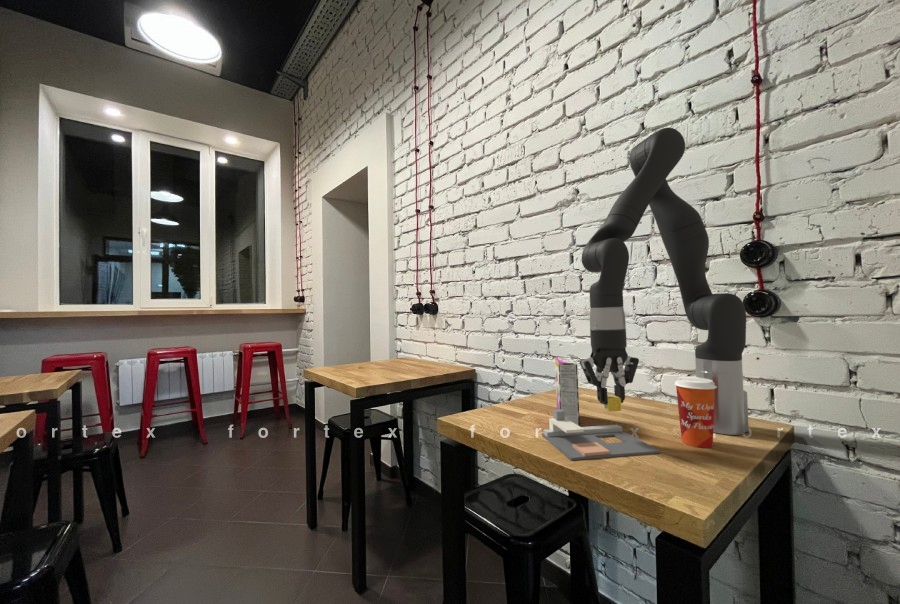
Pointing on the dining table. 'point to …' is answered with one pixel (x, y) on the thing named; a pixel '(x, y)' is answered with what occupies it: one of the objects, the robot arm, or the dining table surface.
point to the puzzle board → (597, 443)
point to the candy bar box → (567, 388)
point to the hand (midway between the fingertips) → (611, 402)
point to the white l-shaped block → (562, 423)
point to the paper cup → (696, 410)
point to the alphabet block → (612, 403)
